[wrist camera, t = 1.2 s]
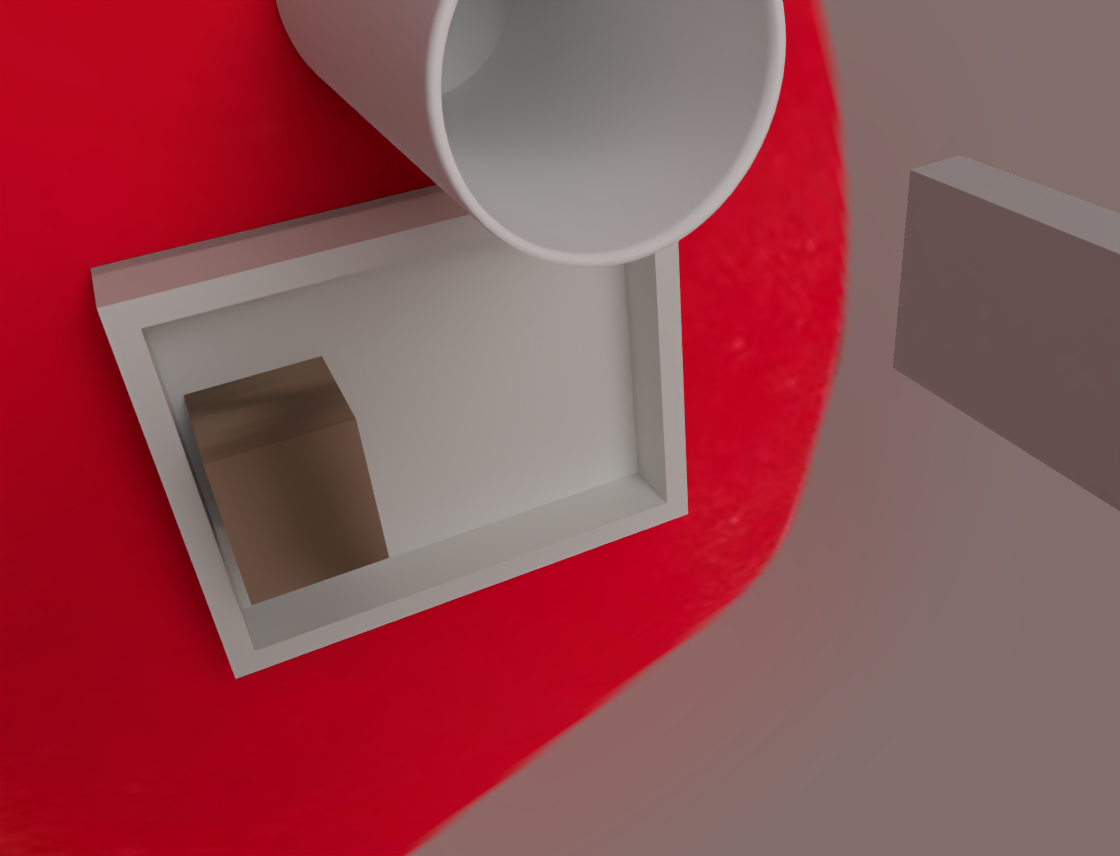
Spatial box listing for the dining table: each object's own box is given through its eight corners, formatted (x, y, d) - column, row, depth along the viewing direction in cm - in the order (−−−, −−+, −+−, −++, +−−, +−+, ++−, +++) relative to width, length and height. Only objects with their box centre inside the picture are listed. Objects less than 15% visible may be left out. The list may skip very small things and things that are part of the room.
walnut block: (229, 527, 40) (251, 605, 36) (183, 394, 37) (203, 464, 33) (354, 486, 42) (389, 557, 38) (321, 355, 39) (355, 418, 35)
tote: (222, 623, 43) (235, 678, 41) (90, 268, 35) (96, 308, 32) (650, 473, 49) (687, 513, 46) (630, 138, 40) (675, 162, 38)
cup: (450, -216, 32) (726, -228, 20) (552, 32, 37) (824, 149, 25) (218, -84, 31) (351, -8, 19) (355, 152, 36) (532, 337, 24)
